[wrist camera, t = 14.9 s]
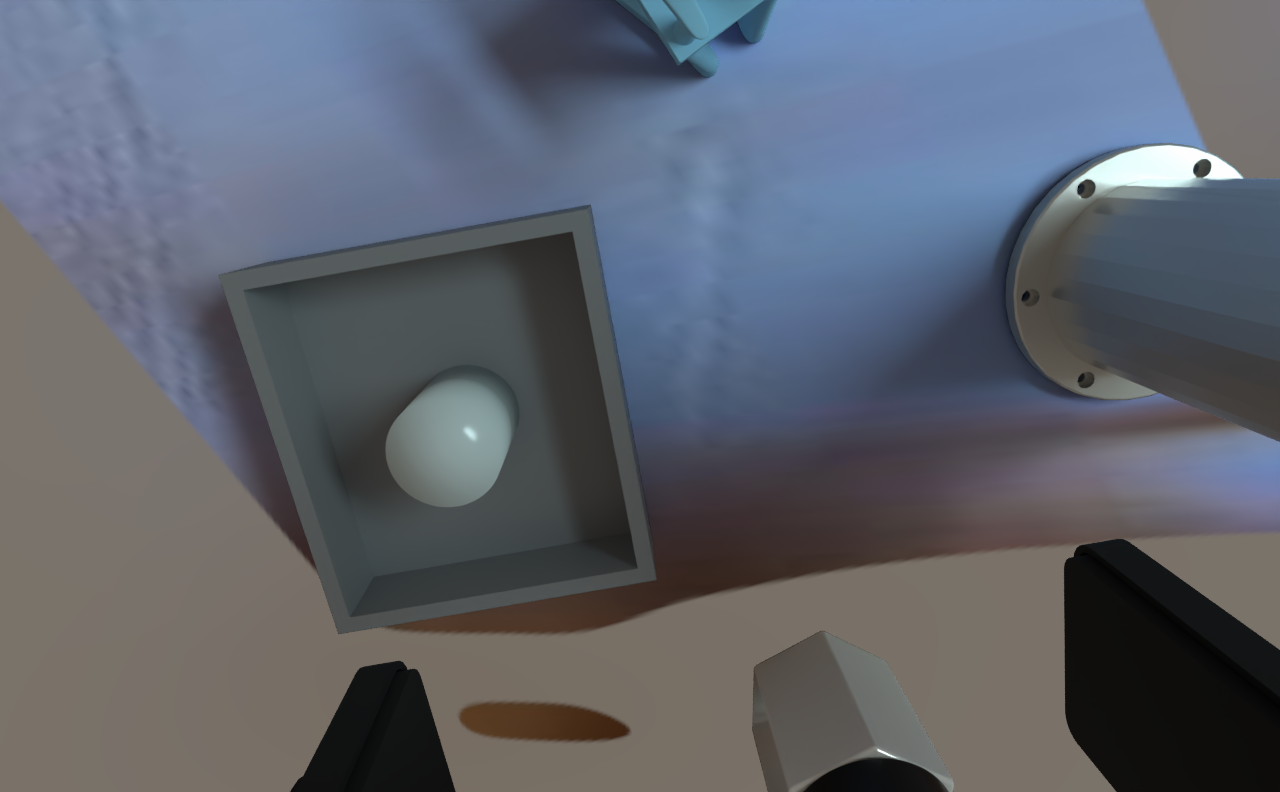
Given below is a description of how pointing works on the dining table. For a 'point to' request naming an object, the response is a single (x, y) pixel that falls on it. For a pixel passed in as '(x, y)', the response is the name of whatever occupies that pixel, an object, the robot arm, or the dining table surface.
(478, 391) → the pale green capsule
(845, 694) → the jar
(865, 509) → the dining table surface
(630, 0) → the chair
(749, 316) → the dining table surface
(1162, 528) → the dining table surface
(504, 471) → the bin
